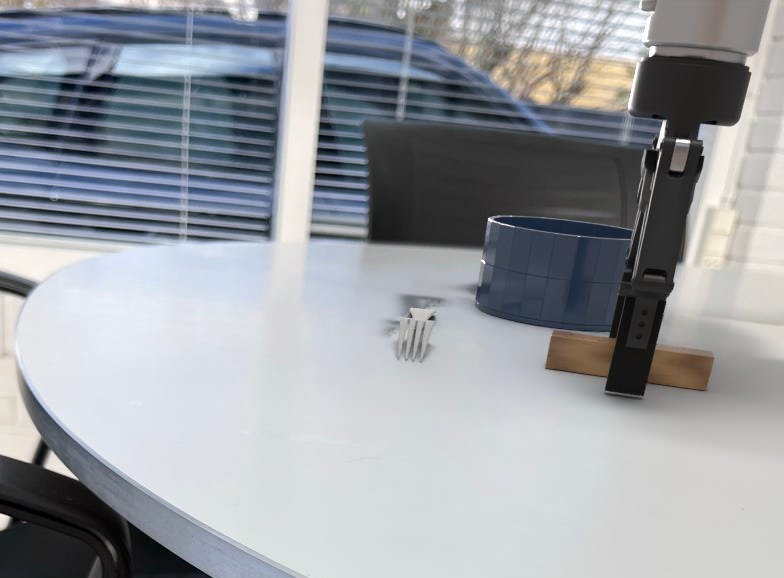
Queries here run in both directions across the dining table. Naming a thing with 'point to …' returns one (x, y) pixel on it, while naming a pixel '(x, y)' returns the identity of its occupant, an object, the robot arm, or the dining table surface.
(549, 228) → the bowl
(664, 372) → the stick
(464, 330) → the dining table surface
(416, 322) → the fork
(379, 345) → the dining table surface
